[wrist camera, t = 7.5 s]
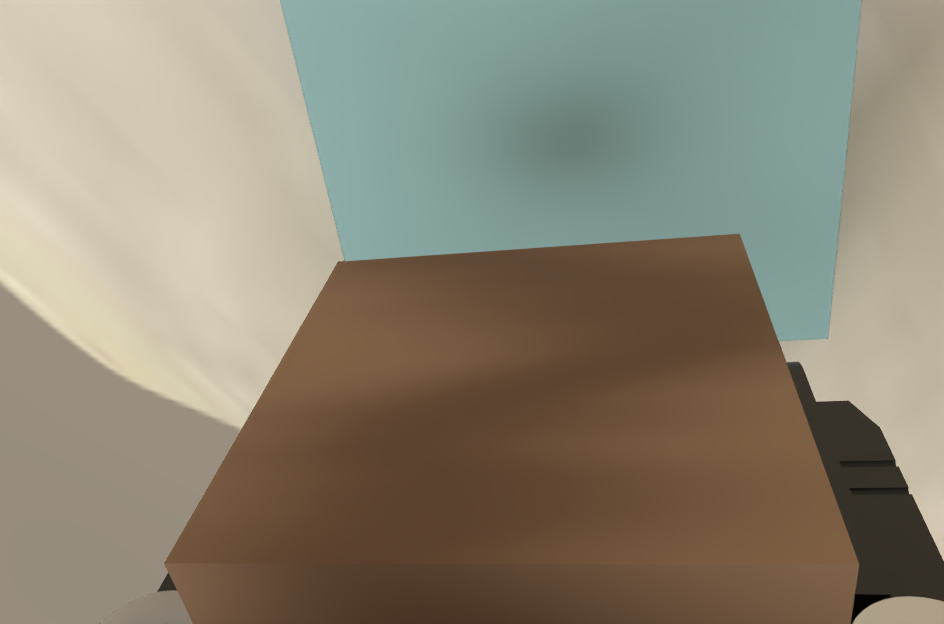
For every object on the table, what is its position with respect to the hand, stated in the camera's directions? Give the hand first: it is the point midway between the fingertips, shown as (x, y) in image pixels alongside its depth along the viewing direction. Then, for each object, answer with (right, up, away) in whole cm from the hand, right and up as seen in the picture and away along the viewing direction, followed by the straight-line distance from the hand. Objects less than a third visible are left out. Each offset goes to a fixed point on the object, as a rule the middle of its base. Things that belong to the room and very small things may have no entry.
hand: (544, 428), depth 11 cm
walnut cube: (0, 0, 0) cm, 0 cm away
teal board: (+2, +7, +12) cm, 14 cm away
